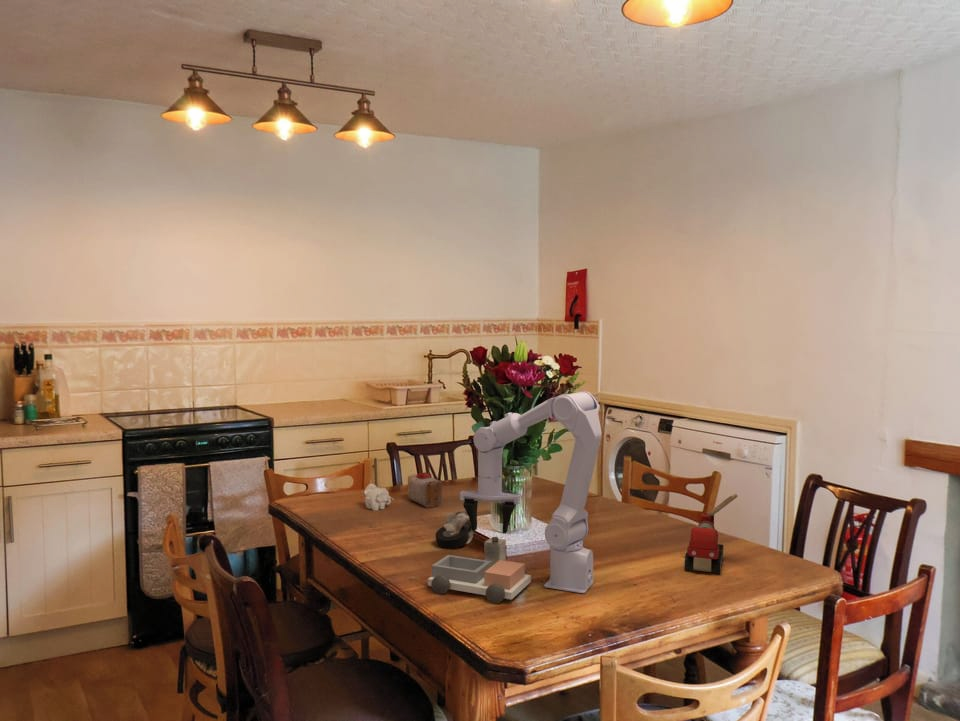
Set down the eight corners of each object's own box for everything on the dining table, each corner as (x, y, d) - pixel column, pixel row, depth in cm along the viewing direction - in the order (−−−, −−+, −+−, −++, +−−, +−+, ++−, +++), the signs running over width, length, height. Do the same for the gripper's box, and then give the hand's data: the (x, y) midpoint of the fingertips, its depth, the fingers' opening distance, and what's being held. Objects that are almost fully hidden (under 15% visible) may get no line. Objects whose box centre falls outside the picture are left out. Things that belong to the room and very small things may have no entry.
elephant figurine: (398, 508, 251) (398, 485, 250) (371, 513, 245) (371, 489, 244) (384, 503, 257) (384, 480, 256) (358, 508, 250) (358, 485, 250)
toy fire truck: (683, 573, 194) (685, 500, 193) (689, 553, 209) (691, 486, 207) (733, 579, 190) (735, 504, 189) (736, 559, 205) (738, 490, 203)
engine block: (505, 563, 199) (505, 536, 199) (499, 568, 196) (499, 541, 195) (490, 561, 201) (490, 534, 200) (484, 566, 197) (484, 538, 197)
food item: (404, 499, 261) (404, 469, 260) (426, 496, 265) (426, 466, 265) (424, 509, 250) (424, 477, 249) (446, 506, 254) (446, 474, 253)
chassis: (532, 584, 185) (533, 560, 185) (509, 606, 172) (509, 580, 172) (453, 571, 193) (453, 549, 193) (425, 591, 180) (425, 567, 180)
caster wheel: (443, 560, 210) (431, 542, 219) (485, 546, 213) (472, 530, 223) (439, 536, 208) (427, 520, 217) (482, 523, 211) (468, 507, 221)
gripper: (522, 474, 198) (522, 528, 199) (465, 470, 202) (465, 524, 203) (516, 480, 191) (516, 536, 192) (457, 476, 195) (457, 532, 196)
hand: (489, 531), depth 197 cm, fingers open, 7 cm apart
